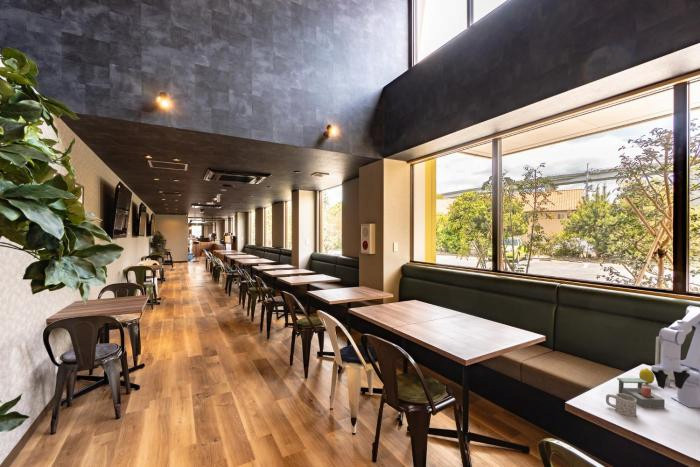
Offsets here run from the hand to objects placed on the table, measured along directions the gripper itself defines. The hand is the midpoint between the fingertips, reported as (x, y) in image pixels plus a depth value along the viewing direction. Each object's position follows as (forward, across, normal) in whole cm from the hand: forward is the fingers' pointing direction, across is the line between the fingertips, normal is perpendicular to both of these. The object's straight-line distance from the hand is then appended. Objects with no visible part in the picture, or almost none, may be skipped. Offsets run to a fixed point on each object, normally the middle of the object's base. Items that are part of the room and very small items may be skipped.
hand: (669, 387), depth 138 cm
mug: (+10, -23, -2) cm, 25 cm away
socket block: (+9, -6, +7) cm, 13 cm away
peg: (+9, -6, +4) cm, 12 cm away
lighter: (+10, +19, +23) cm, 31 cm away
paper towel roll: (+10, +29, +30) cm, 43 cm away
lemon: (+10, +11, +22) cm, 26 cm away
